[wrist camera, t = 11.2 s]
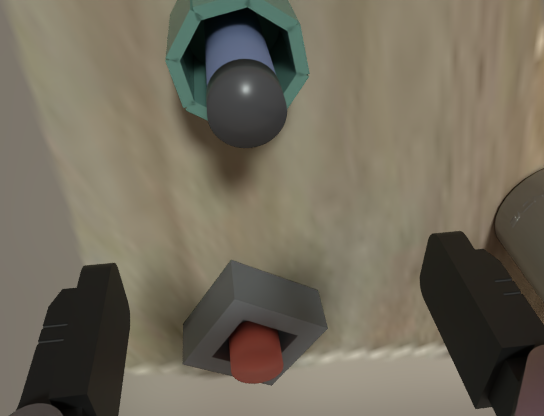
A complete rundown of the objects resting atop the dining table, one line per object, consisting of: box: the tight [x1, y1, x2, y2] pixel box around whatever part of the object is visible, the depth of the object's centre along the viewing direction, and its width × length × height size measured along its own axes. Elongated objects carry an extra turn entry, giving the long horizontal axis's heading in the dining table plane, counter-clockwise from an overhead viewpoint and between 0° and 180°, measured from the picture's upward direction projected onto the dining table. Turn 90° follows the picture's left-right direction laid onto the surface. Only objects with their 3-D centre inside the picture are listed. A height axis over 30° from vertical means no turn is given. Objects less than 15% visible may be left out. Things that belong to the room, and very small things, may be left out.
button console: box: [183, 260, 328, 385], centre depth 41 cm, size 8×8×4 cm
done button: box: [229, 321, 283, 384], centre depth 39 cm, size 4×4×3 cm
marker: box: [204, 7, 287, 148], centre depth 23 cm, size 3×3×10 cm
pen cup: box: [166, 0, 310, 121], centre depth 25 cm, size 6×6×6 cm
